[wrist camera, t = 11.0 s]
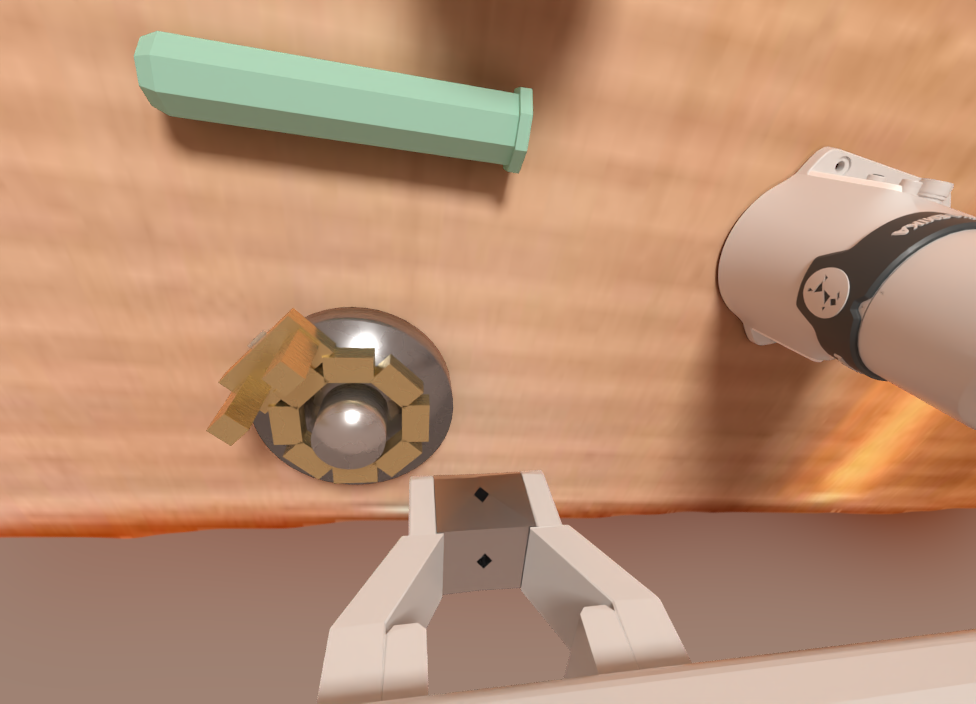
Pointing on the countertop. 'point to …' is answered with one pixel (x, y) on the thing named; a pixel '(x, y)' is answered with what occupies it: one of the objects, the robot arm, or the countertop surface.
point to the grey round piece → (368, 394)
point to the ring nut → (303, 372)
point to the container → (332, 100)
